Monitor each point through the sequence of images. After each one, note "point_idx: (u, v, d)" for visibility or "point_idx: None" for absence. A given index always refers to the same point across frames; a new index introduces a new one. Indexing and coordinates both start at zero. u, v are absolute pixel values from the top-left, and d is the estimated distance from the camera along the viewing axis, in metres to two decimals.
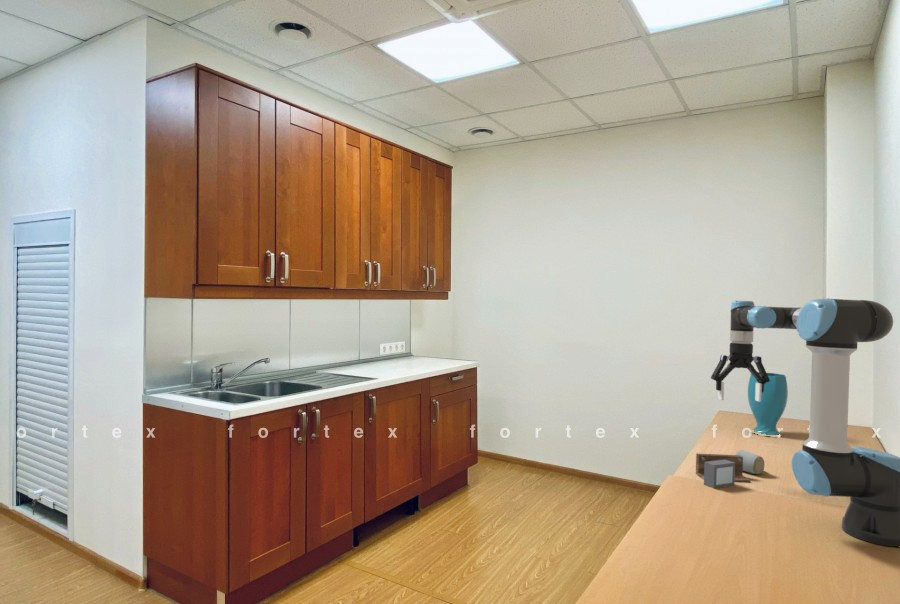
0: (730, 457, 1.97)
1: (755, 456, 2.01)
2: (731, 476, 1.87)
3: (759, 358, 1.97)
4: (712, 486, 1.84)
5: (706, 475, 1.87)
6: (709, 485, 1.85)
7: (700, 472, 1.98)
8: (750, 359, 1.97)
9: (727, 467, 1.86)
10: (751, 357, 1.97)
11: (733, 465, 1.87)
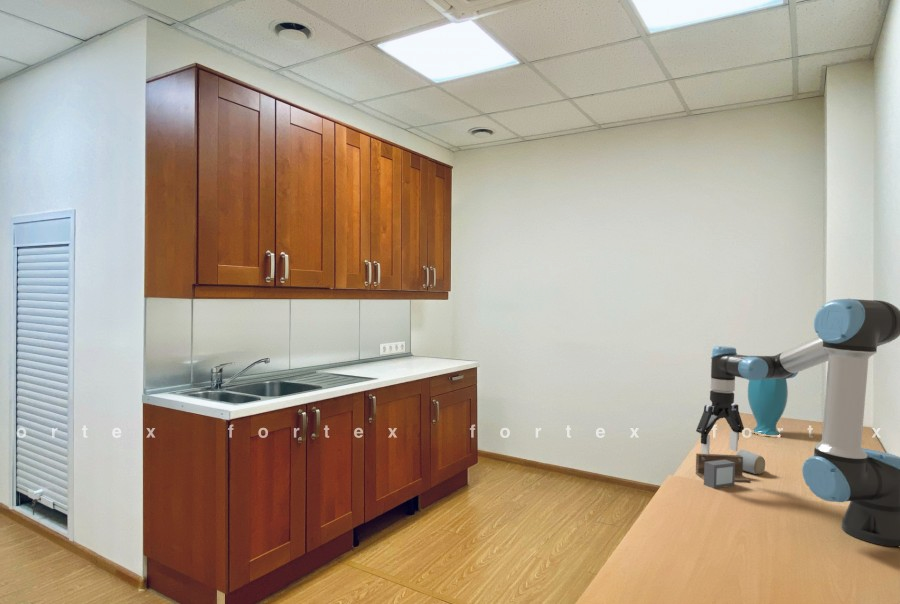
0: (730, 457, 1.97)
1: (756, 456, 2.01)
2: (731, 476, 1.87)
3: (737, 406, 1.89)
4: (712, 486, 1.84)
5: (706, 475, 1.87)
6: (709, 485, 1.85)
7: (700, 472, 1.98)
8: (730, 408, 1.88)
9: (727, 467, 1.86)
10: (730, 406, 1.88)
11: (733, 465, 1.87)
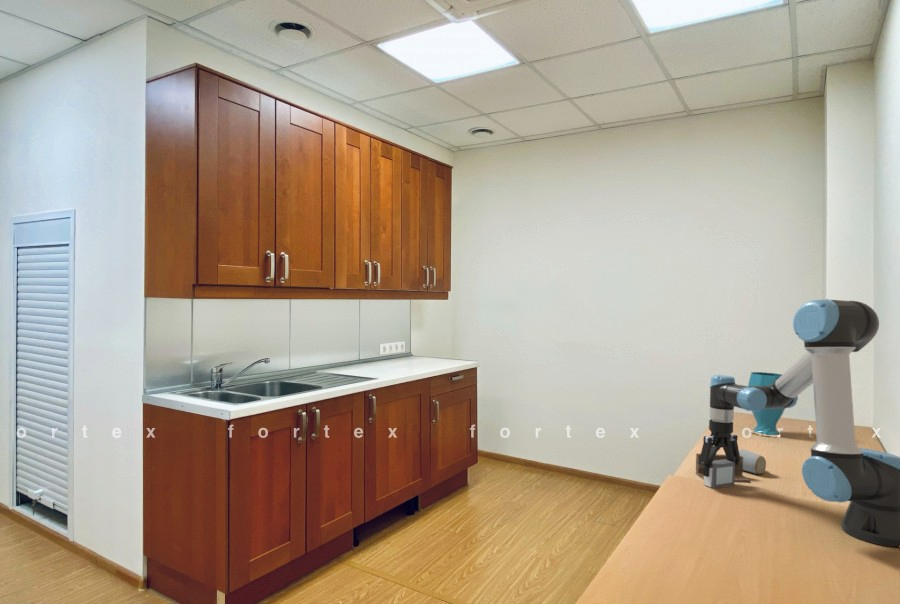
0: None
1: (757, 456, 2.02)
2: (731, 476, 1.87)
3: (736, 437, 1.89)
4: (712, 486, 1.84)
5: None
6: None
7: (700, 472, 1.98)
8: (729, 437, 1.88)
9: (727, 467, 1.86)
10: (730, 435, 1.88)
11: (733, 465, 1.87)
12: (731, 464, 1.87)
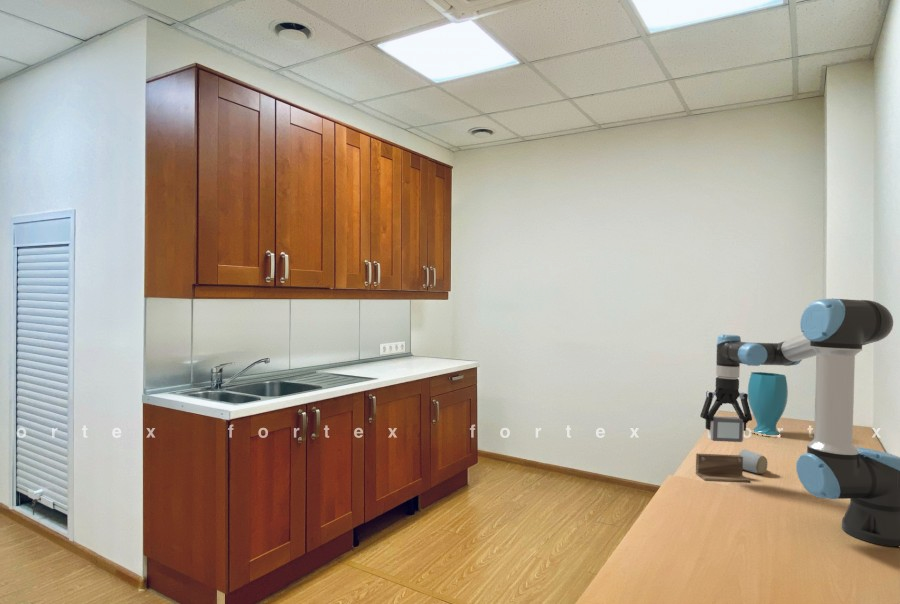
0: (730, 457, 1.97)
1: (758, 456, 2.02)
2: (738, 432, 1.92)
3: (745, 395, 1.93)
4: (713, 438, 1.93)
5: None
6: None
7: (700, 472, 1.98)
8: (736, 394, 1.93)
9: (732, 423, 1.92)
10: (737, 393, 1.93)
11: (740, 422, 1.92)
12: (737, 421, 1.92)
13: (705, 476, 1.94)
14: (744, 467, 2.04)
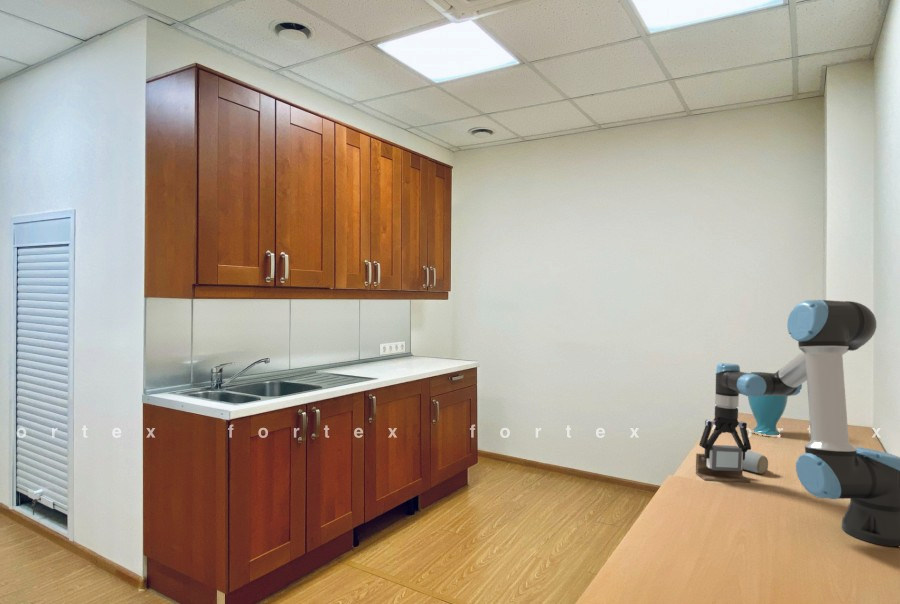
0: None
1: (759, 455, 2.02)
2: (737, 462, 1.92)
3: (744, 424, 1.93)
4: (712, 467, 1.93)
5: None
6: None
7: (700, 472, 1.98)
8: (735, 423, 1.93)
9: (731, 452, 1.92)
10: (736, 422, 1.93)
11: (739, 451, 1.92)
12: (736, 450, 1.92)
13: (705, 476, 1.94)
14: (745, 467, 2.05)
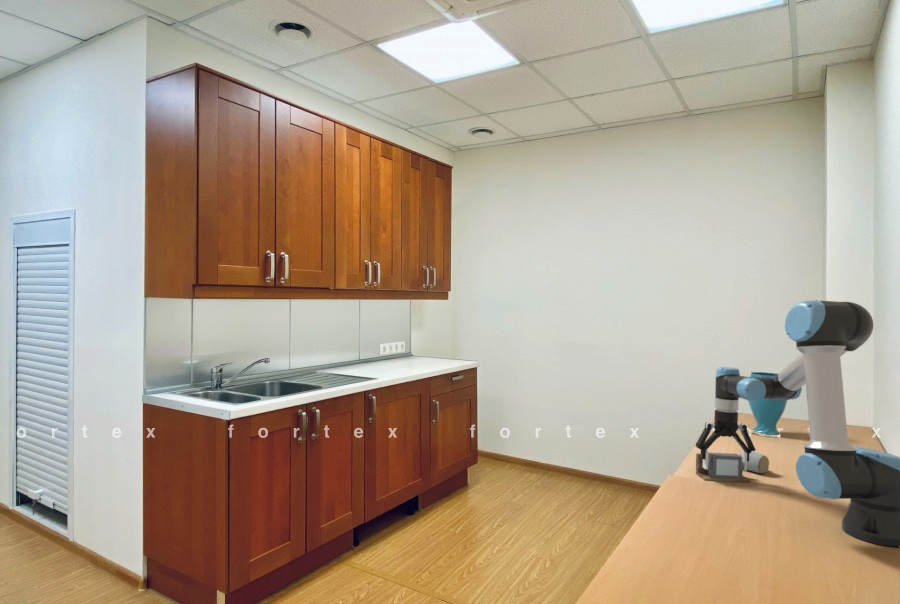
0: None
1: (760, 455, 2.02)
2: (737, 470, 1.92)
3: (744, 427, 1.93)
4: (712, 475, 1.93)
5: (709, 465, 1.96)
6: (710, 475, 1.94)
7: (700, 472, 1.98)
8: (735, 427, 1.93)
9: (731, 460, 1.92)
10: (736, 425, 1.93)
11: (739, 459, 1.92)
12: (736, 458, 1.92)
13: (705, 476, 1.94)
14: None
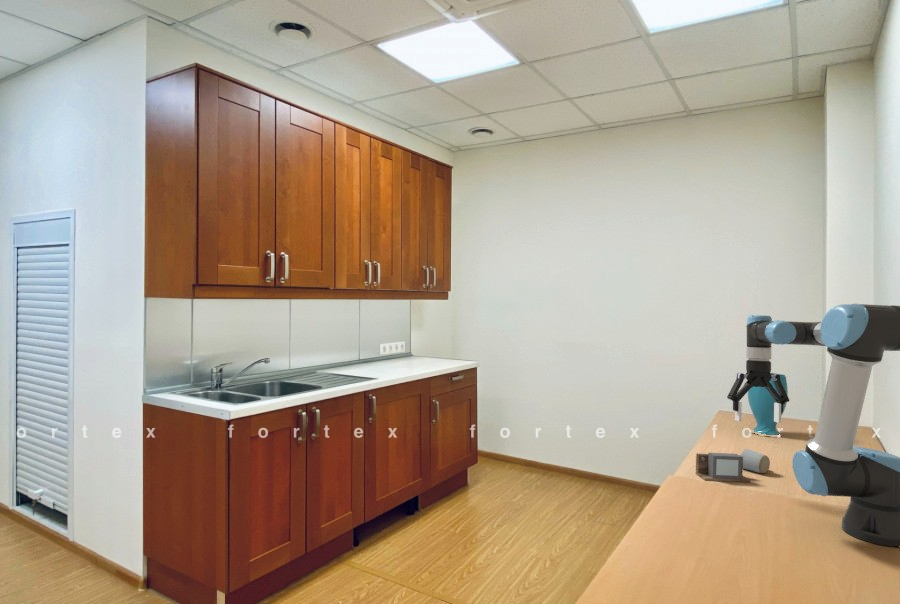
0: None
1: (761, 455, 2.03)
2: (737, 470, 1.92)
3: (778, 376, 1.86)
4: (712, 475, 1.93)
5: (709, 465, 1.96)
6: (710, 475, 1.94)
7: (700, 472, 1.98)
8: (768, 377, 1.86)
9: (731, 460, 1.92)
10: (769, 375, 1.86)
11: (739, 459, 1.92)
12: (736, 458, 1.92)
13: (705, 476, 1.94)
14: (746, 467, 2.05)
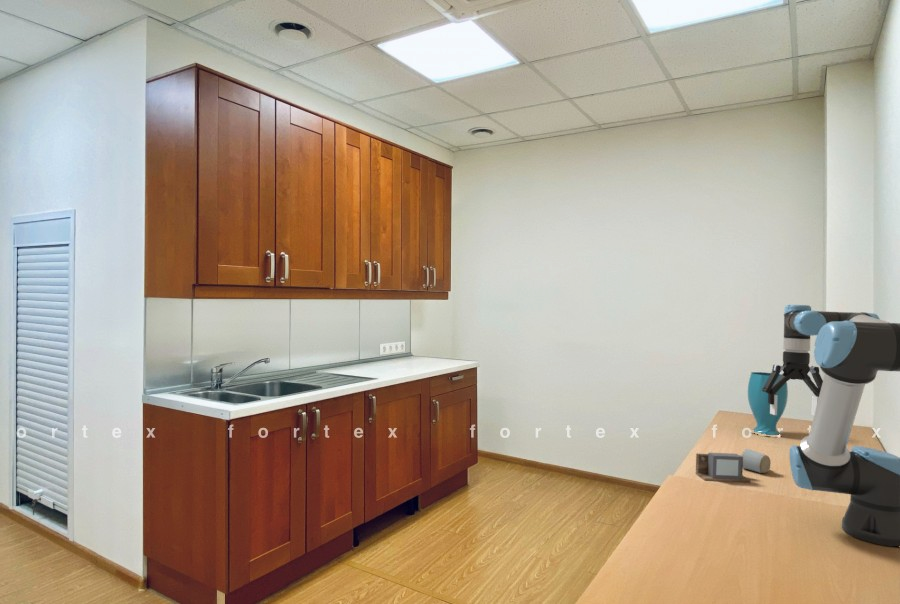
0: None
1: (761, 455, 2.03)
2: (737, 470, 1.92)
3: (816, 368, 1.78)
4: (712, 475, 1.93)
5: (709, 465, 1.96)
6: (710, 475, 1.94)
7: (700, 472, 1.98)
8: (806, 370, 1.78)
9: (731, 460, 1.92)
10: (807, 367, 1.78)
11: (739, 459, 1.92)
12: (736, 458, 1.92)
13: (705, 476, 1.94)
14: (747, 466, 2.05)
